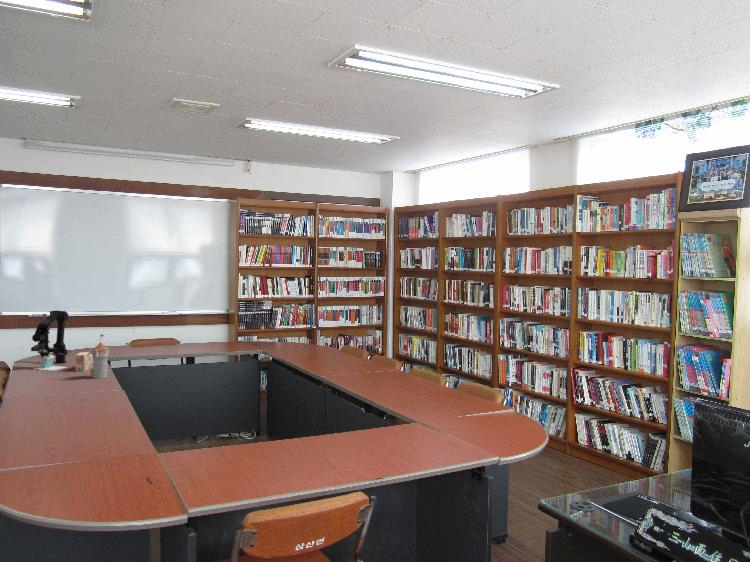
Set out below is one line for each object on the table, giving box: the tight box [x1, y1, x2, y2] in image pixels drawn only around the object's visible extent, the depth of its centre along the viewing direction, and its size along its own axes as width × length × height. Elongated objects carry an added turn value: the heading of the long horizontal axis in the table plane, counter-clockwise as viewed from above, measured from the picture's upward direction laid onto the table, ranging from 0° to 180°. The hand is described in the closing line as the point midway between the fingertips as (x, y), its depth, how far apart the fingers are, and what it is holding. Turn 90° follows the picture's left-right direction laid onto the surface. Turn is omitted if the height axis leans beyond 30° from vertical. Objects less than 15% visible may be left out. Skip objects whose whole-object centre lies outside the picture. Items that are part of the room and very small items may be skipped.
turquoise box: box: [40, 354, 56, 368], centre depth 437 cm, size 7×4×8 cm, turn 166°
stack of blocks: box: [74, 351, 94, 373], centre depth 438 cm, size 21×6×12 cm, turn 10°
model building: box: [89, 333, 110, 379], centre depth 409 cm, size 14×12×30 cm
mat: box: [34, 365, 67, 372], centre depth 437 cm, size 14×16×1 cm
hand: (43, 361), depth 438 cm, fingers closed
